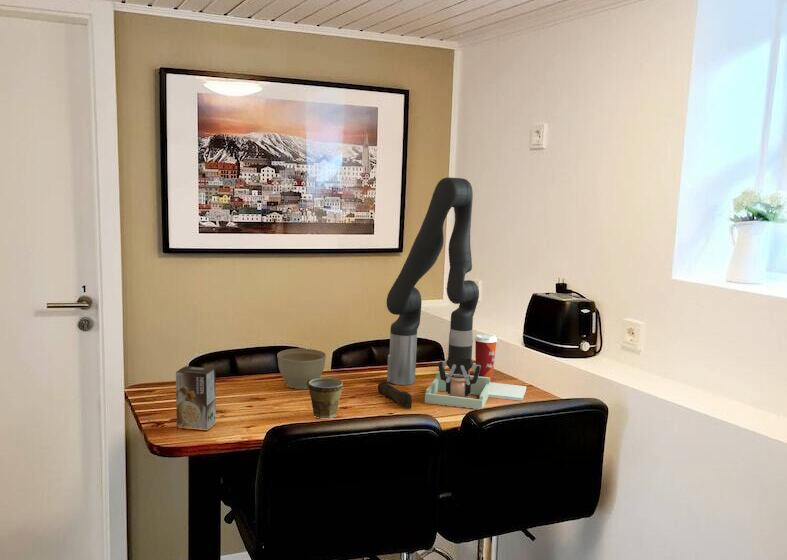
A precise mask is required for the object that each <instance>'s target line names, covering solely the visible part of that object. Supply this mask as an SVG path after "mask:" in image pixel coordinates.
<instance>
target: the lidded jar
mask: <svg viewBox="0 0 787 560" xmlns="http://www.w3.org/2000/svg"><path fill="white" fill-rule="evenodd" d="M450 380H451V381H450V394H449V396H456V397H465V398H467V396H465V390H466V384H467V383H466V379H465V378H464V376H463V375H460V374H453V376H452V377H450Z"/></svg>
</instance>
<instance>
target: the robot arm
mask: <svg viewBox="0 0 787 560" xmlns="http://www.w3.org/2000/svg"><path fill="white" fill-rule="evenodd" d="M473 195H474V193H473V187H472V185H471V182H470V181H468V179H465V178H461V177H443V178H441V179H440V180H439V181H438V183H437V184H436V186H435V188H434V191H433V192H432V196H431V200H430V203H429V206H428V208H427V211H426V214H425V217H424V219H423V221H422V224H421V226H420V229H419V231H418V232H417V236H416V237H415V239H414V240H413V244H412V246H411V247H410V251H409V253H408V255H407V257H406V260H405V261H404V263H403V266H402V268H401V270H400V272H399V273H398V276H397V278H396V279H395V281H394V283H393V284H392V286H391V288H390V289H389V291H388V293H387V296H386V308H387V311H389V313H390V314H392V315H397V316H398V317H397V319H396V320H395V321H393V323H391V325H390V330H389V331H390V332H389V333H390V335H389V354H387V368H386V369H387V370H386V371H387V372H386V382H388V383H390V384H393V385H398V386H410V385H413V384H415V383H416V368H417V364H416V363H417V342H418V330H419V326H420V323H421V314H422V296H421V293H420V291H419V290H418V288H416V285H417V283H418V282H419V281H420V280H421V279H422V277H424V275H426V274H427V273H428V272H429V271H430V270H431V268H433V266H435V264H436V262H437V260H438V258H439V256H440V253H441V252H442V250H443V247H444V240H445V239H444V237H445V236H444V224H445V221H446V218H447V216H448V215H449V212H450V210H451V209H452V208H453V211H454V225H453V228H452V232H451V236H450V238H449V241H448V242H449V243H448V259H449V260H448V262H449V272H448V278H447V282H446V295H447V297H448V300H449V301H450V302H451V303H453V304H455V305H458V308H456V309H455V310H453V311H452V312H451V314H450V329H449V335H448V348H447V349H448V352H447V359H446V360H443V359H442V360H439V361H438V363H437V367H438V372H440V378H441V380H444V381H445V382H446V391H445V392H446V393H447V395H450V381H451V380H450V377H452V376H453V374H460V375H463V376H464V378H465V379H466V383H467V384H466V390H465V396H466V397H468V396H469V395H471V394H470V392H471V384H475V383H476V382H477V379H478V376H479V372H480V369H481V365H476V363H473V360H472V357H473V356H472V355H473V343H474V336H473V335H474V333H473V325H474V324H473V322H474V314H475V312H476V309H477V307H478V306H477V305H478V303H479V299H480V298H479V297H480V290H479V286H478V284H477V283H476V282H475V281H473V280H472V279H471V280H470V279H468V280H465V277H466V275H467V273H470V272H471V271H472V270H473V262H472V249H471V247H472V246H471V228H472V227H471V225H472V224H471V223H472V213H473V200H474V199H473ZM446 366H447V367H448V369H449V370H450V371H449V372H448V373H449V375H448V377H447V376H446V375H445V373H446V371H445V368H446ZM471 368H472V370H473V372H474V374H473V376H474V377H473V379H471V378H470V376H471V375H470V374H471V373H470V369H471Z"/></svg>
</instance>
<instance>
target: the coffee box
mask: <svg viewBox="0 0 787 560" xmlns="http://www.w3.org/2000/svg"><path fill="white" fill-rule="evenodd" d="M175 385H176V386H175V391H176V392H175V395H176V399H175V400H176V403H175V404H176V427H177V426H182V427H192V428H202V429H208V428H209V427H211V426H212V425H213V424H214V423H215V422H216V423H217V416H216V415H217V410H216V409H217V408H216V407H217V405H216V400H217V399H216V396H217V395H216V394H217V393H216V368H214V367H211V368H210V367H201V366H190V365H185V366H183V367H182V368H180V369H179V370H177V371H175Z"/></svg>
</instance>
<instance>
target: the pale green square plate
mask: <svg viewBox="0 0 787 560" xmlns="http://www.w3.org/2000/svg"><path fill="white" fill-rule="evenodd" d="M526 391H527V386H526V385H516V384H509V383H501V382H491V381H490V389H489V394H488V398H493V399H503V400H508V401H509V400H510V401H519V402H522V401H523V400H524V397H525V393H526ZM481 393H482V392H480V393H479V395H478V396H479V397H480V395H481Z"/></svg>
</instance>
